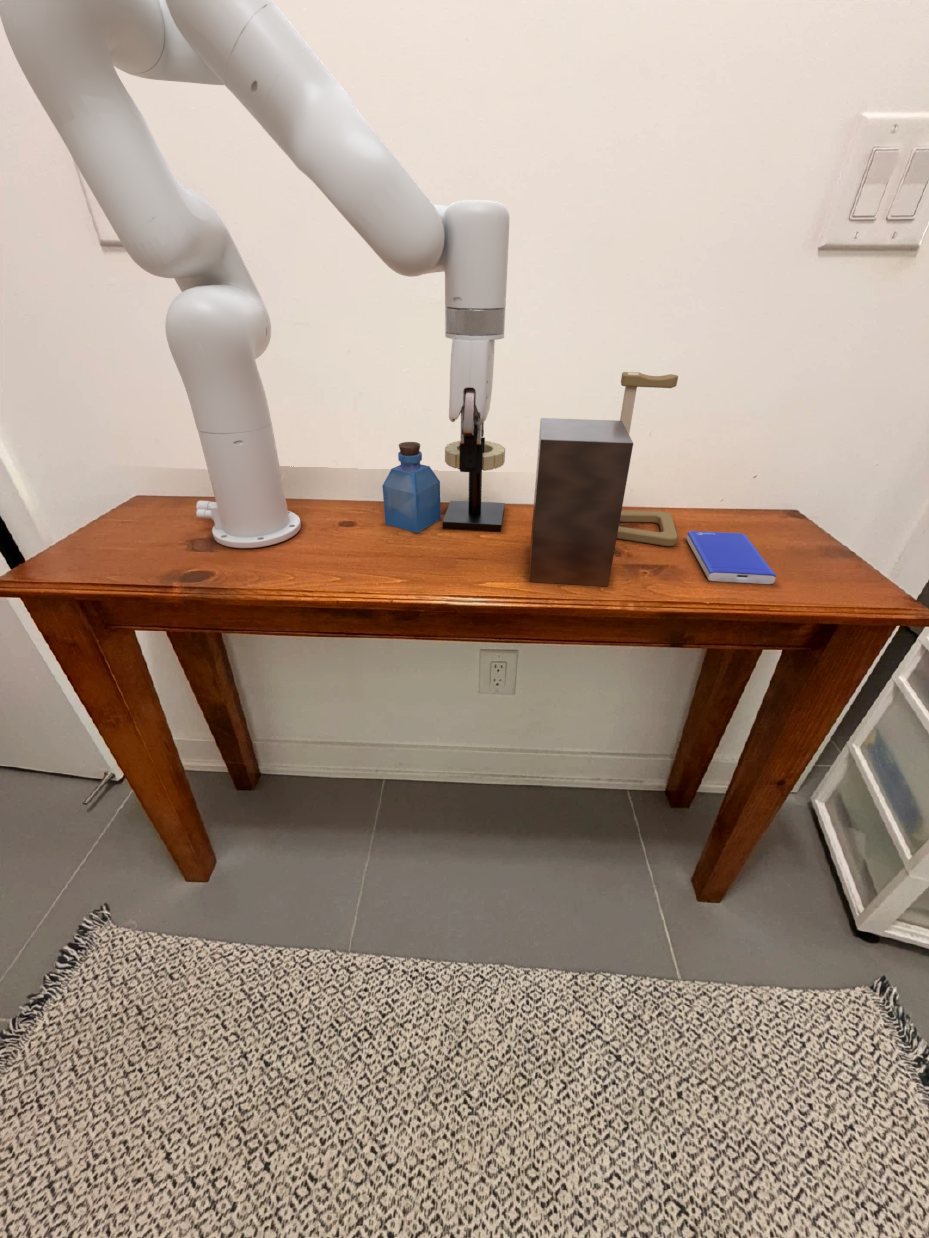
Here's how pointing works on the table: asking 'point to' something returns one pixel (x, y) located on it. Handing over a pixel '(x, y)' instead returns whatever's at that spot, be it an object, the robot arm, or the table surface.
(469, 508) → the post
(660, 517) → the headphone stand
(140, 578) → the table surface
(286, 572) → the table surface
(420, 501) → the perfume bottle
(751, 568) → the hard drive
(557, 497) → the stand box
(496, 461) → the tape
